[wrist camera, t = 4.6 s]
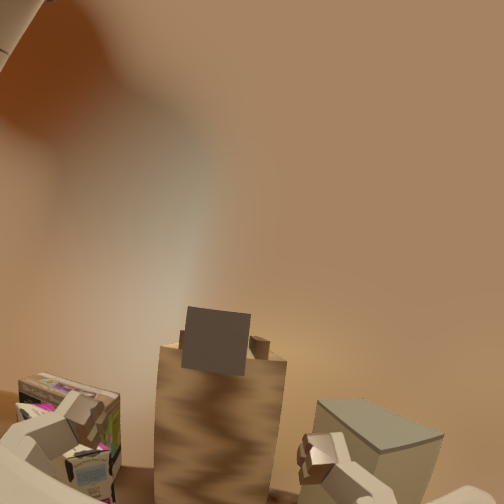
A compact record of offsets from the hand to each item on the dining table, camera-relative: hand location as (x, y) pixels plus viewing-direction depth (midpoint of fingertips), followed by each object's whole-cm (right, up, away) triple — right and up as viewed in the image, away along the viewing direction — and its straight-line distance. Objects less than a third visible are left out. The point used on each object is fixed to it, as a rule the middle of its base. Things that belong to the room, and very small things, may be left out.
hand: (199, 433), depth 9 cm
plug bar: (0, -2, +14) cm, 14 cm away
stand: (-3, -28, +11) cm, 30 cm away
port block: (+8, -26, 0) cm, 27 cm away
